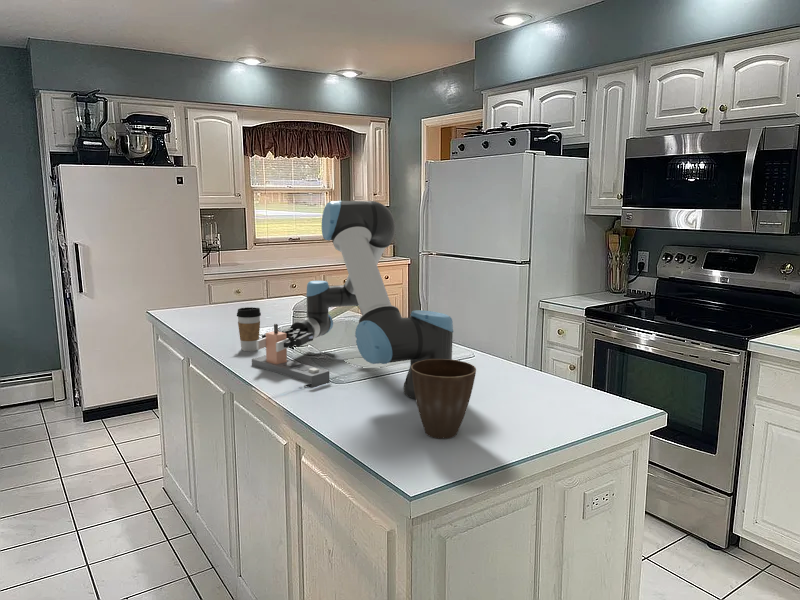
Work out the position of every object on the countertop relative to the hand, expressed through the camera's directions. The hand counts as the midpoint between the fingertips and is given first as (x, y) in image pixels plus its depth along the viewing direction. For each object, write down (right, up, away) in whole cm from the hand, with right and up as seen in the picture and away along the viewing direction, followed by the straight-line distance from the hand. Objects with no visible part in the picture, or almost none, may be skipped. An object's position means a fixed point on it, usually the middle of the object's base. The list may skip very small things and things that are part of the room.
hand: (267, 346), depth 185 cm
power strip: (+6, -9, +3) cm, 11 cm away
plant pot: (+50, -18, -41) cm, 67 cm away
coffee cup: (-14, -4, +34) cm, 37 cm away
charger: (+2, -7, +6) cm, 9 cm away
